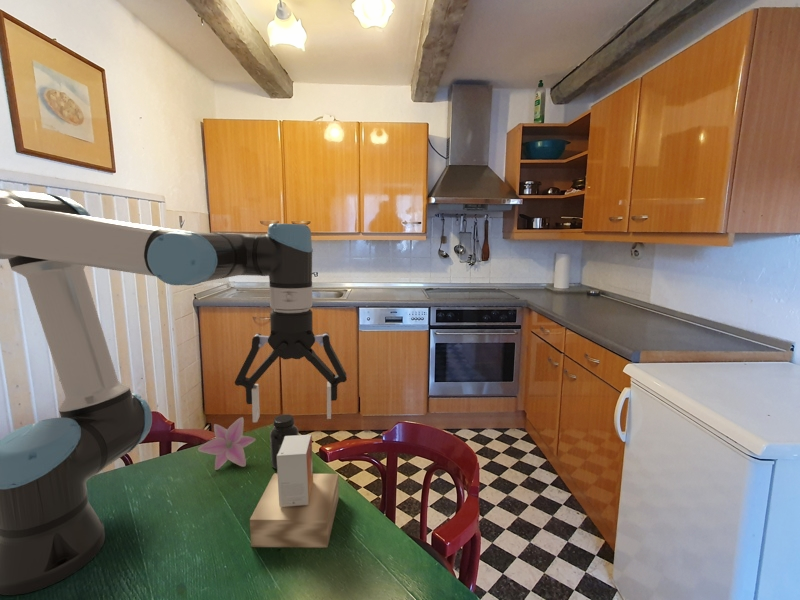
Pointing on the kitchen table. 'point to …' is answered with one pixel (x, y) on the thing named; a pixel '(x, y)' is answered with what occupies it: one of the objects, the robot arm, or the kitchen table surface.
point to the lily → (228, 444)
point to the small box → (295, 470)
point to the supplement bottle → (281, 434)
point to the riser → (296, 516)
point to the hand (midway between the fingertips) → (293, 417)
